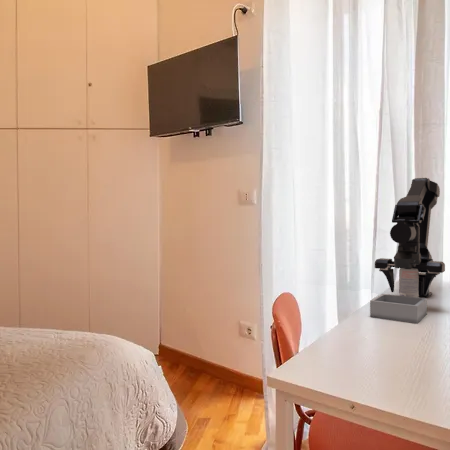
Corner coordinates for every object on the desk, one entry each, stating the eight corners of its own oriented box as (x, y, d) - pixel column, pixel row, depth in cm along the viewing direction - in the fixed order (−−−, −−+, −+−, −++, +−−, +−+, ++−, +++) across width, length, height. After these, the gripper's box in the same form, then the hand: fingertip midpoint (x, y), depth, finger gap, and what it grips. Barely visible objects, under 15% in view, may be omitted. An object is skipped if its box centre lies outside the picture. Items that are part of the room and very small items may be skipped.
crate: (382, 308, 122) (382, 293, 121) (426, 314, 114) (426, 298, 114) (370, 316, 112) (370, 300, 112) (417, 323, 105) (417, 306, 105)
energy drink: (414, 305, 125) (414, 266, 125) (421, 309, 120) (421, 269, 119) (396, 305, 126) (396, 266, 125) (402, 309, 120) (402, 269, 120)
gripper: (369, 242, 121) (368, 294, 122) (438, 244, 110) (438, 301, 110) (380, 240, 130) (379, 289, 130) (445, 242, 119) (445, 295, 119)
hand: (408, 293), depth 122 cm, fingers open, 9 cm apart
